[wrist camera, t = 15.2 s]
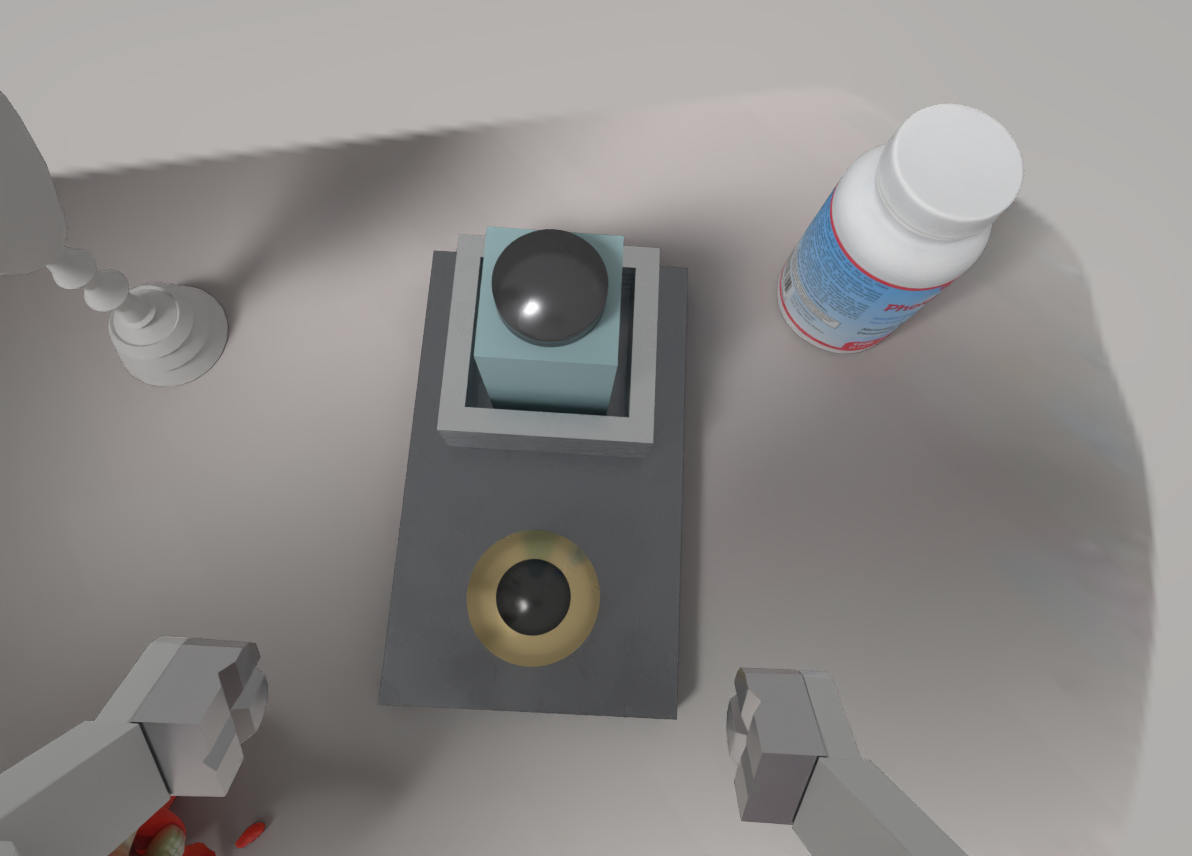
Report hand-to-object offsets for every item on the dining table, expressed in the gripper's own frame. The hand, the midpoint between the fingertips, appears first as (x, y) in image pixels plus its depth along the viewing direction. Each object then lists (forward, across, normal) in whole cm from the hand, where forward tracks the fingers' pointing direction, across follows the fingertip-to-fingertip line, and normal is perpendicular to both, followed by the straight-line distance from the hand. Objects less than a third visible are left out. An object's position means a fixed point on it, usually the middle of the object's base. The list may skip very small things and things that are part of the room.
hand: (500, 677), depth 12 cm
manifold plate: (+18, 0, -8) cm, 20 cm away
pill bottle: (+25, +14, -2) cm, 29 cm away
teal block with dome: (+21, 0, -4) cm, 21 cm away
